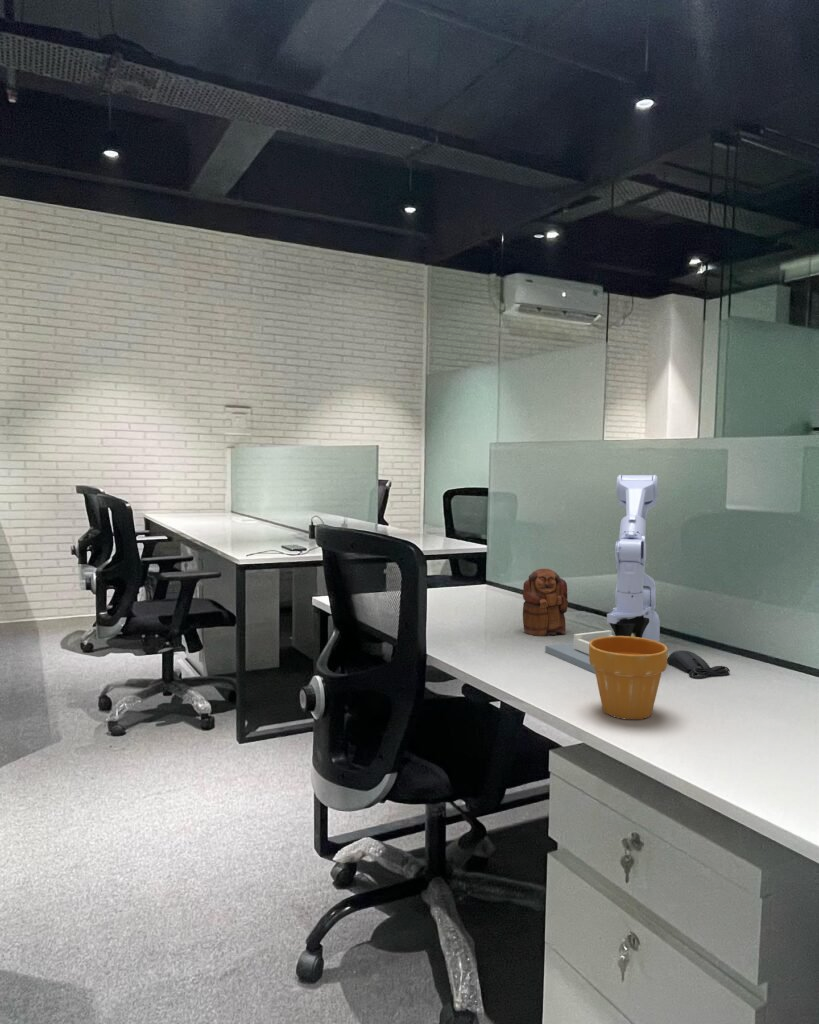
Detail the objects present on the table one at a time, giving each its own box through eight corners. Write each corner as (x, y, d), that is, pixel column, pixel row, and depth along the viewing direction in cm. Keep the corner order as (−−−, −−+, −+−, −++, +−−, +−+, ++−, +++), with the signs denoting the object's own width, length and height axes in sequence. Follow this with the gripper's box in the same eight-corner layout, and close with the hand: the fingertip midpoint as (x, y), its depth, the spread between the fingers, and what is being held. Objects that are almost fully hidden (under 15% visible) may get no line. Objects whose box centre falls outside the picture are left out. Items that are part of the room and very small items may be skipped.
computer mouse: (690, 660, 173) (690, 644, 172) (733, 677, 159) (734, 660, 158) (654, 663, 170) (654, 647, 169) (695, 681, 156) (695, 664, 155)
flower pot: (621, 730, 126) (623, 658, 125) (573, 705, 139) (573, 640, 138) (683, 718, 132) (684, 649, 131) (630, 696, 145) (631, 632, 144)
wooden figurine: (528, 637, 194) (529, 571, 193) (521, 631, 200) (521, 567, 199) (570, 635, 196) (570, 570, 195) (561, 629, 202) (561, 566, 201)
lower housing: (608, 643, 179) (609, 630, 179) (635, 653, 170) (635, 639, 170) (573, 648, 175) (573, 634, 174) (598, 658, 166) (599, 643, 165)
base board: (597, 645, 185) (597, 631, 185) (664, 670, 163) (664, 654, 163) (545, 651, 179) (545, 637, 178) (607, 678, 157) (607, 662, 156)
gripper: (633, 585, 171) (632, 641, 172) (595, 592, 161) (595, 651, 162) (659, 589, 165) (658, 647, 166) (622, 597, 156) (621, 658, 157)
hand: (628, 649), depth 164 cm, fingers closed on pin, 3 cm apart
